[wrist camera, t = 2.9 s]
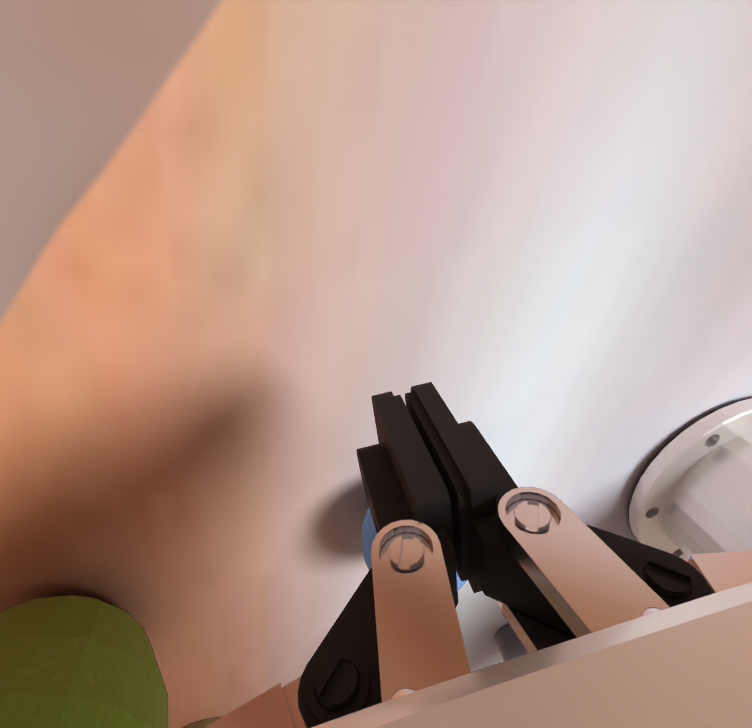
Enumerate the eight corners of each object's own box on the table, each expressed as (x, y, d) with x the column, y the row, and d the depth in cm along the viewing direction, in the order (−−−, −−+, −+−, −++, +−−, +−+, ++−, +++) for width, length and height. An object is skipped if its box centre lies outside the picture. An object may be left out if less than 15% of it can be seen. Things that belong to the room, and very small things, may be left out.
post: (529, 617, 32) (599, 755, 25) (528, 638, 33) (594, 774, 26) (494, 627, 31) (555, 769, 24) (494, 647, 33) (552, 788, 26)
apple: (230, 598, 25) (204, 848, 16) (112, 693, 27) (33, 961, 18) (38, 511, 20) (-149, 804, 11) (-90, 636, 22) (-332, 968, 13)
